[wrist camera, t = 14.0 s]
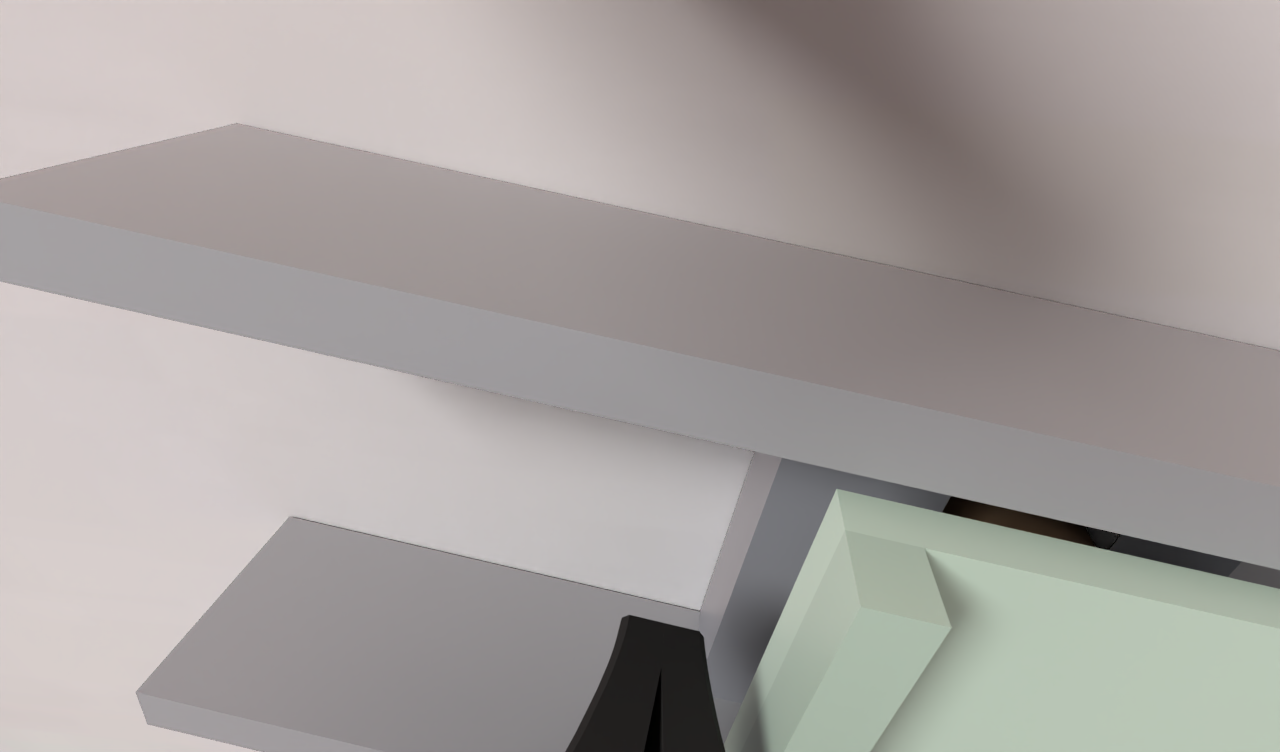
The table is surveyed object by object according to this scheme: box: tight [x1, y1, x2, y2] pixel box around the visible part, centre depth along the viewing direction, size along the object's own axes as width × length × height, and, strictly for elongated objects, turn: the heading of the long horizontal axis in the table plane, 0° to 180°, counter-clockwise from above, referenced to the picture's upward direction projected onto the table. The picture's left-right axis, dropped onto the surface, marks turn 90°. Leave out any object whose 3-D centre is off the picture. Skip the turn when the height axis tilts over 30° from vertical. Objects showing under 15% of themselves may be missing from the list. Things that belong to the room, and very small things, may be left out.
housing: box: [0, 123, 1280, 752], centre depth 13 cm, size 12×24×6 cm, turn 80°
